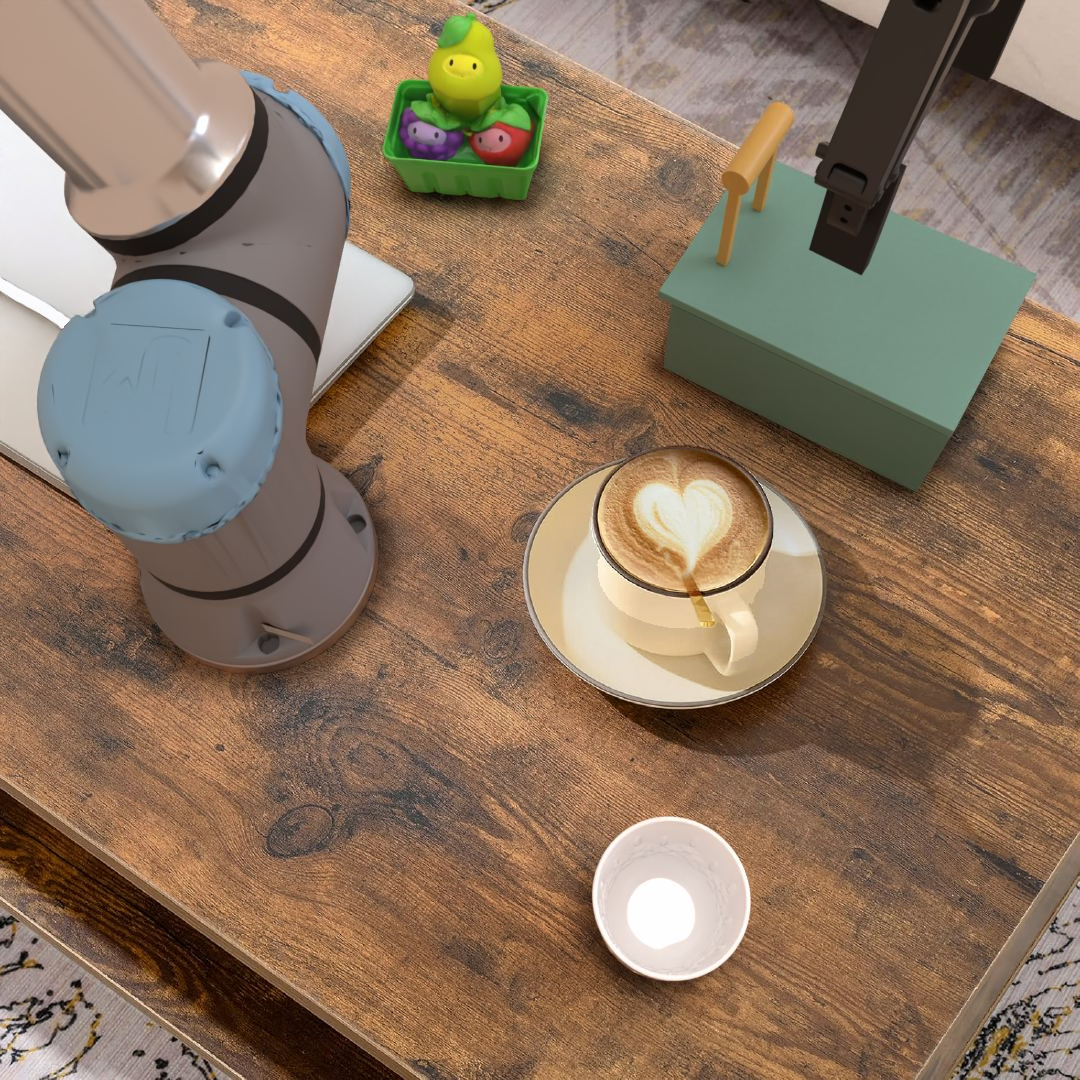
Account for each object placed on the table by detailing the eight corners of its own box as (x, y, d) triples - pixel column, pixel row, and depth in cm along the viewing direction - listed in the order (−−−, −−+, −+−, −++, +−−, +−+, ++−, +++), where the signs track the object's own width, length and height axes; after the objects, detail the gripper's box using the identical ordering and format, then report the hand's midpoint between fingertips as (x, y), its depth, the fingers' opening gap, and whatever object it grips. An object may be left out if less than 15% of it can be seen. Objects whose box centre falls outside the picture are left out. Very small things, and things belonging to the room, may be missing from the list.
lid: (657, 298, 75) (668, 198, 66) (751, 158, 79) (773, 47, 70) (950, 438, 70) (1003, 351, 61) (1033, 281, 74) (1094, 179, 66)
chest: (662, 367, 81) (670, 304, 74) (749, 235, 86) (764, 164, 79) (916, 492, 77) (949, 438, 70) (993, 346, 81) (1032, 281, 74)
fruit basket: (390, 204, 88) (364, 92, 77) (410, 114, 91) (388, -4, 81) (539, 216, 87) (533, 105, 77) (553, 125, 90) (550, 7, 80)
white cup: (562, 902, 67) (560, 881, 58) (667, 818, 69) (680, 785, 60) (649, 1018, 65) (661, 1015, 56) (755, 928, 67) (783, 911, 57)
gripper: (1035, -26, 31) (855, 385, 50) (1339, -485, 39) (1082, 23, 58) (786, -127, 33) (705, 308, 52) (1126, -547, 41) (946, -33, 60)
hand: (904, 158), depth 55 cm, fingers open, 13 cm apart
